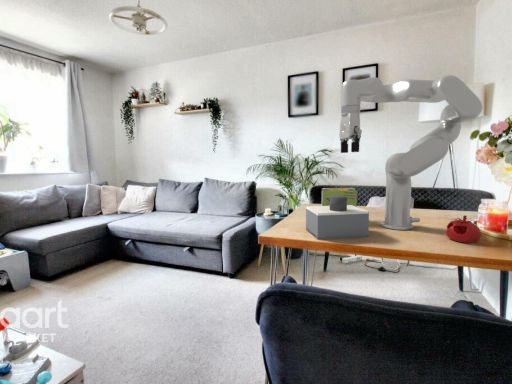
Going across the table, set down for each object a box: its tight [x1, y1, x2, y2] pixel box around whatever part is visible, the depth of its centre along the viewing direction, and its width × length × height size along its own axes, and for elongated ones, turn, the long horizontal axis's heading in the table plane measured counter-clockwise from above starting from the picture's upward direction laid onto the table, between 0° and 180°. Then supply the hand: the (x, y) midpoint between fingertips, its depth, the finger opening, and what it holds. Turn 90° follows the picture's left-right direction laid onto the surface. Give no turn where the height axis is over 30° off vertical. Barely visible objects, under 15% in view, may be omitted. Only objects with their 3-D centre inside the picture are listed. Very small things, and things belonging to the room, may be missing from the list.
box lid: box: [305, 205, 370, 216], centre depth 106 cm, size 20×14×1 cm
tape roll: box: [330, 196, 347, 211], centre depth 103 cm, size 6×6×5 cm
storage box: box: [305, 208, 370, 240], centre depth 106 cm, size 20×14×9 cm
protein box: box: [321, 187, 358, 207], centre depth 127 cm, size 10×15×16 cm
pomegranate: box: [446, 215, 482, 244], centre depth 94 cm, size 10×10×9 cm
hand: (349, 152), depth 114 cm, fingers open, 9 cm apart
